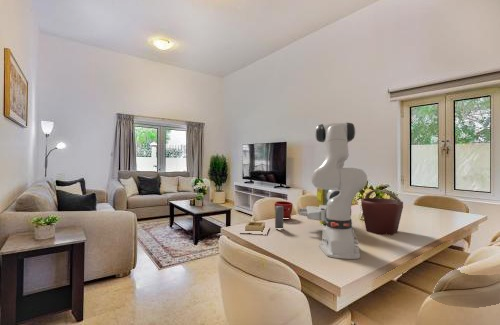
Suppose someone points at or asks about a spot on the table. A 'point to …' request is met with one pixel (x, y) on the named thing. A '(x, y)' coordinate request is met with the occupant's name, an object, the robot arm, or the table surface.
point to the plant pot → (285, 208)
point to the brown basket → (382, 213)
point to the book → (321, 199)
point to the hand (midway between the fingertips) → (299, 211)
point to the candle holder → (255, 226)
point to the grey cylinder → (278, 216)
